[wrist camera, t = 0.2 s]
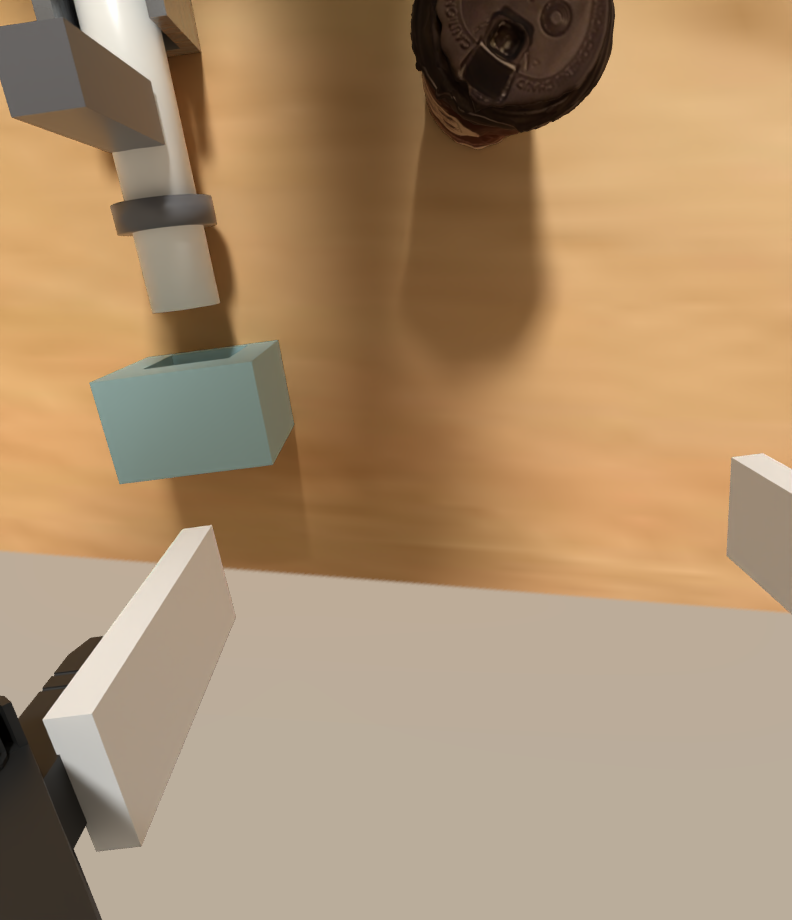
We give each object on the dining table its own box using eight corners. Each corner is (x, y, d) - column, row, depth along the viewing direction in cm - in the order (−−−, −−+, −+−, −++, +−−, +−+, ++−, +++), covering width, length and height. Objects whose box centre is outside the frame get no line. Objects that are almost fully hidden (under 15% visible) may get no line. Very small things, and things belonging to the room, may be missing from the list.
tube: (36, -179, 32) (-209, -479, 19) (141, -196, 31) (-32, -511, 18) (158, 309, 40) (46, 337, 27) (242, 298, 39) (171, 320, 27)
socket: (147, 357, 41) (89, 382, 33) (278, 340, 41) (251, 361, 33) (169, 440, 43) (119, 484, 35) (294, 424, 43) (272, 464, 35)
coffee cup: (429, 189, 38) (449, 159, 26) (383, 44, 35) (380, -67, 23) (563, 136, 37) (651, 78, 25) (525, -17, 35) (602, -166, 22)
